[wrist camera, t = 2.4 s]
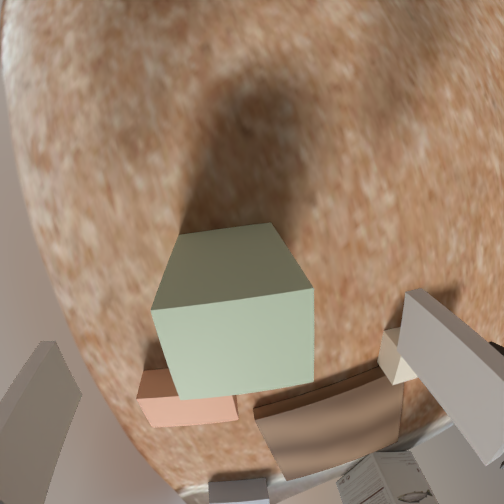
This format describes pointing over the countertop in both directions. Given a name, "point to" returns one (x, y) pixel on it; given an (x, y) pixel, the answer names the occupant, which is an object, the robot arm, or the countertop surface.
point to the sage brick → (235, 314)
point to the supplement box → (386, 481)
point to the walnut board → (332, 423)
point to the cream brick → (393, 358)
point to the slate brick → (239, 492)
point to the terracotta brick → (180, 403)
